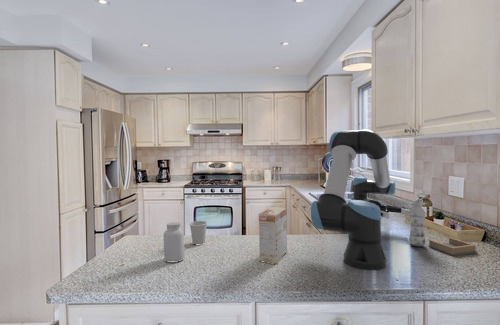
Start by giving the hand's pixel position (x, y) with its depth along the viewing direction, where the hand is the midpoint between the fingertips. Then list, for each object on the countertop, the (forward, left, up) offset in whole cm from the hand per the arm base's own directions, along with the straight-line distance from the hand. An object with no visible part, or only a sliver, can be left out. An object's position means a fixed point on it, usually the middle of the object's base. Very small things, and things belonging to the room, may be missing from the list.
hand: (400, 214), depth 134 cm
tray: (+10, -18, -12) cm, 24 cm away
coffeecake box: (-66, -4, -12) cm, 67 cm away
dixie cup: (-95, +23, -12) cm, 99 cm away
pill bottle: (-106, +5, -12) cm, 107 cm away
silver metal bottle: (0, -10, -12) cm, 16 cm away
